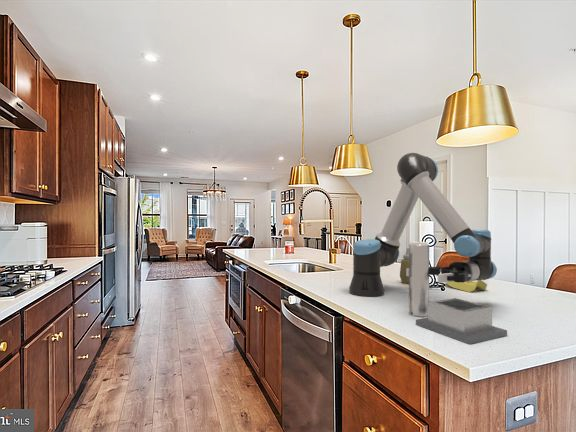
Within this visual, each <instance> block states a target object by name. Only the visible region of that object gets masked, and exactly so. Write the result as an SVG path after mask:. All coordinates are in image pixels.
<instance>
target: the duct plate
mask: <svg viewBox="0 0 576 432" xmlns="http://www.w3.org/2000/svg"><path fill="white" fill-rule="evenodd" d="M415 325H416V326H419V327H420V328H421V327H422V328H424V329H427V330H429V331H432V332H434V333H438V334H440V335H443V336H446V337H448V338H451V339H454V340H457V341H460V342H461V343H465V344H467V345H473V344H477V343H482V342H486V341H490V340H495V339H499V338H503V337H507V336H508V330H507V329H504V328H500V327H498V326H493V307H492V306H489V305H486V304H485V305H484V304H481V303H478V302H477V303H475V302H473V301H472V302H471V301H468V300H463V299H459V298H457V297H454V298H446V299H439V300H432V301H429V302H428V316H427V317H424V318H423V317H422V318H418V319H415Z"/></svg>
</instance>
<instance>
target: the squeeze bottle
mask: <svg viewBox="0 0 576 432" xmlns="http://www.w3.org/2000/svg"><path fill="white" fill-rule="evenodd" d="M407 268H409V247H407V248H406V251H405V254H404V255H402V259H401V260H400V269H399V277H400V282H401V283H403V284H406V285H409V276H406V269H407Z"/></svg>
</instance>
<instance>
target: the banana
mask: <svg viewBox="0 0 576 432" xmlns="http://www.w3.org/2000/svg"><path fill="white" fill-rule="evenodd" d="M445 283H446V284H447V285H448V286H450V287H452V288H454V289H456V290H458V291H459V290H460V291H463V292H467V293H474V292H475V291H476V290H479V291H483V292H485V291H486V290H487V287H488V284H487V283H486V282H484V280H476V281H469V283H467V282H463V283H462V282H459V283H458V282H454V281H453V282H445Z"/></svg>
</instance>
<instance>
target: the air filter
mask: <svg viewBox="0 0 576 432" xmlns="http://www.w3.org/2000/svg"><path fill="white" fill-rule="evenodd" d="M408 244H409V245H408V248H409V284H408V314H409V315H410V316H413V317H414V316H415V317H418V318H419V317H421V318H423V317H424V318H427V317H428V302H430V275H429V267H430V245H429V244H428V242H427V241H410V243H408Z"/></svg>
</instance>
